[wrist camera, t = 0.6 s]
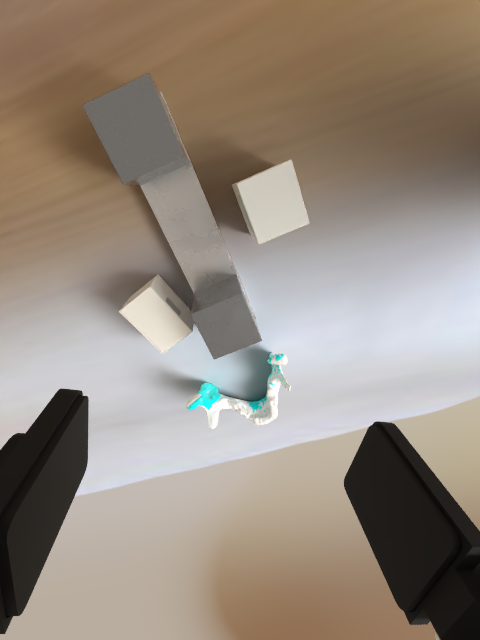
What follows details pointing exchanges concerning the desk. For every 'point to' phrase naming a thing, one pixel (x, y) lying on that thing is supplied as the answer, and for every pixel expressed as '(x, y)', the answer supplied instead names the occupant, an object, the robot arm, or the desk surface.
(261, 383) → the desk surface
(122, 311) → the block
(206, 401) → the jawbone
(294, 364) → the desk surface
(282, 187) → the block
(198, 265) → the rail
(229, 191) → the desk surface
